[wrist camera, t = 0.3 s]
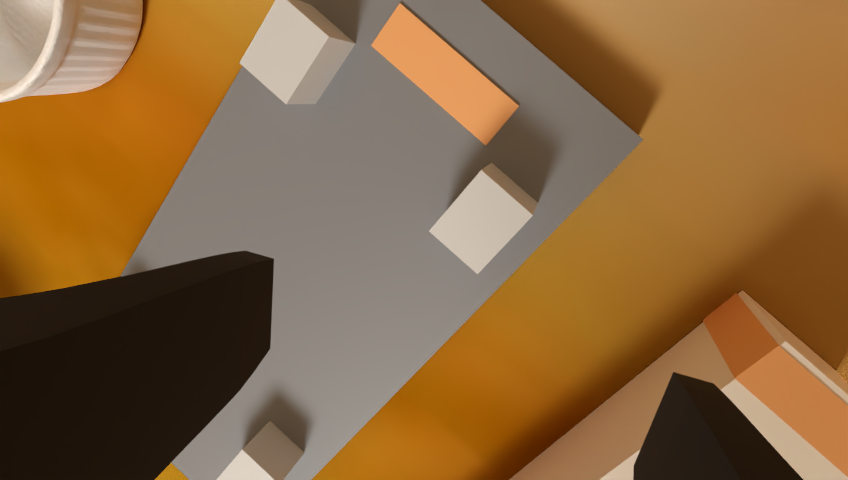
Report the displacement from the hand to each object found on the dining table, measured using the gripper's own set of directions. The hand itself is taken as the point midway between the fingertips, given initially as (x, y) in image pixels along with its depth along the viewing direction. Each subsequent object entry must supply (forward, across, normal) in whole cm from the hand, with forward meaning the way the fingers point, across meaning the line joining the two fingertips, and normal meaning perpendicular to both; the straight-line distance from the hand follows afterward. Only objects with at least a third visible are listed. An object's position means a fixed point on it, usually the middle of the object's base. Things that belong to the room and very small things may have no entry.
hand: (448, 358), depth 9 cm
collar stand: (+10, +8, +5) cm, 14 cm away
